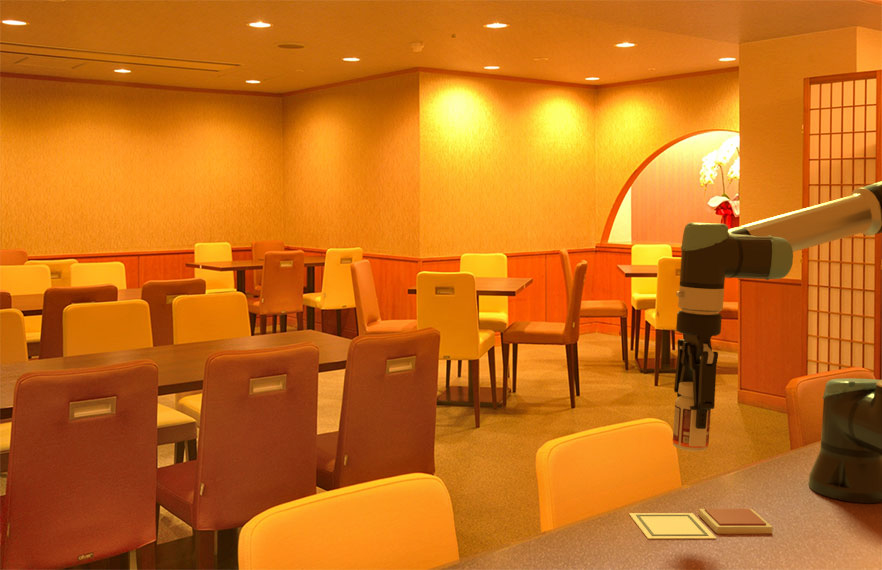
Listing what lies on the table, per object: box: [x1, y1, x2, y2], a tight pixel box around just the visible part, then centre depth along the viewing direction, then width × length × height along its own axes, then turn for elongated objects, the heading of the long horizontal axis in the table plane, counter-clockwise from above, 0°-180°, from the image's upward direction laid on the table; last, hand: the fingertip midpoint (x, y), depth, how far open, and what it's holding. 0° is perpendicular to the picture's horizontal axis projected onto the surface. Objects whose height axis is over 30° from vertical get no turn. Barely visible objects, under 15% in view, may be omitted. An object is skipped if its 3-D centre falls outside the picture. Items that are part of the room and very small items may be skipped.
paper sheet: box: [628, 512, 717, 540], centre depth 161 cm, size 12×12×1 cm
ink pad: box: [698, 508, 773, 535], centre depth 163 cm, size 10×9×2 cm
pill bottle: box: [672, 382, 712, 452], centre depth 159 cm, size 6×6×11 cm
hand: (690, 440), depth 160 cm, fingers closed on pill bottle, 6 cm apart
